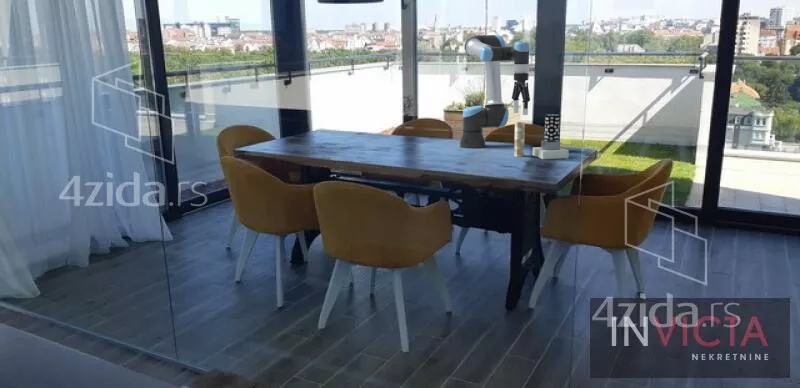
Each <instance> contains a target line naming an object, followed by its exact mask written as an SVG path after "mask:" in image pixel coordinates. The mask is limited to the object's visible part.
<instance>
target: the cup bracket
mask: <svg viewBox="0 0 800 388" xmlns="http://www.w3.org/2000/svg"><path fill="white" fill-rule="evenodd" d="M540 147H541V148H542V149H544V150H560V148H561V141H560V142H558V141H555V140H547V141H544V140H541V141H540Z"/></svg>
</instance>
